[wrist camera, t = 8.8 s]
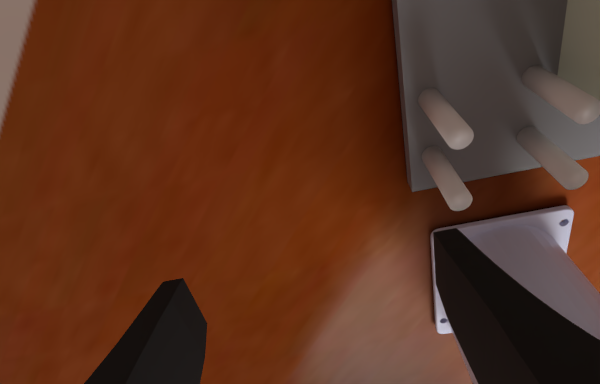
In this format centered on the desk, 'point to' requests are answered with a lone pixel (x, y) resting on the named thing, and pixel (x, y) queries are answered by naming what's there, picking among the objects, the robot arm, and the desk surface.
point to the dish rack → (488, 94)
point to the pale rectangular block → (581, 46)
